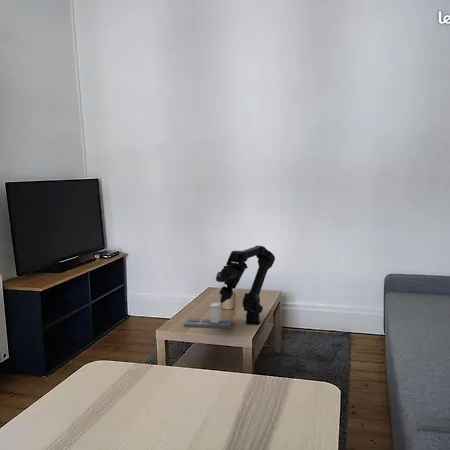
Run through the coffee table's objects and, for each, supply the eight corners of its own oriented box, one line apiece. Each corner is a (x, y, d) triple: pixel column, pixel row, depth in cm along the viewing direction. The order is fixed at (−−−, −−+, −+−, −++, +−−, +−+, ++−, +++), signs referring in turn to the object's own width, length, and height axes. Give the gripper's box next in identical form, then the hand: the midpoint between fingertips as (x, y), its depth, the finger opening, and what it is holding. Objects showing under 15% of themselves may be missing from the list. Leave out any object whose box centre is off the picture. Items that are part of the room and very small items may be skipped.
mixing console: (232, 322, 243) (232, 319, 243) (229, 328, 234) (229, 325, 234) (188, 321, 247) (188, 318, 247) (183, 326, 239) (183, 323, 238)
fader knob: (221, 319, 242) (220, 303, 241) (219, 323, 237) (218, 306, 236) (212, 319, 243) (211, 302, 242) (210, 323, 238) (209, 306, 236)
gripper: (226, 259, 240) (215, 281, 247) (216, 275, 223) (204, 299, 230) (245, 269, 239) (233, 291, 246) (236, 286, 223) (224, 310, 230)
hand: (223, 297), depth 238 cm, fingers open, 9 cm apart
